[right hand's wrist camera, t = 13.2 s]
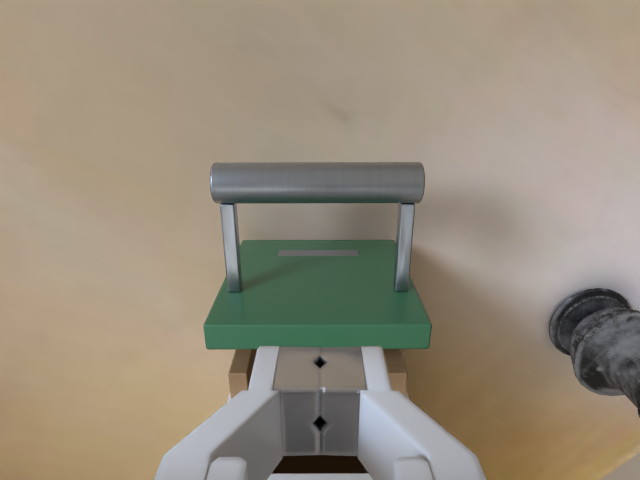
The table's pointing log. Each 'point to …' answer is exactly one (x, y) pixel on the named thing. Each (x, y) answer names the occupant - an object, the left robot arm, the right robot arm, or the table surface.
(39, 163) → the table surface
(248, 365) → the drawer
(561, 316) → the dark grey chess piece
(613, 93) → the table surface
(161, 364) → the table surface
